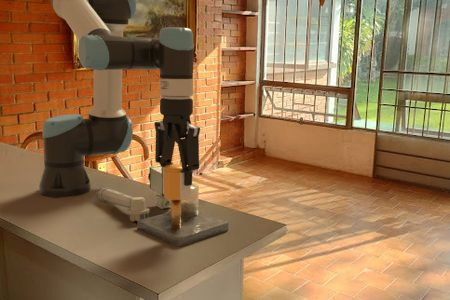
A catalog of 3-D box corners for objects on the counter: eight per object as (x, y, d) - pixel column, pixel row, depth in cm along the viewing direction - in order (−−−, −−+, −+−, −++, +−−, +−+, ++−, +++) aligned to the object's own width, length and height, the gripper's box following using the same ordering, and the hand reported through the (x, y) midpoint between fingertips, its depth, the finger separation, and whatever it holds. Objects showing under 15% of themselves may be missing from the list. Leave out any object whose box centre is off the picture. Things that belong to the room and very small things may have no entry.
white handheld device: (110, 185, 147) (152, 194, 127) (112, 207, 147) (154, 219, 128) (93, 188, 144) (134, 197, 124) (95, 210, 144) (136, 223, 124)
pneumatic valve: (165, 214, 134) (165, 171, 131) (147, 202, 143) (147, 162, 141) (183, 211, 137) (183, 169, 134) (164, 200, 146) (165, 160, 144)
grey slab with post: (137, 228, 123) (137, 192, 121) (186, 214, 134) (186, 181, 132) (179, 246, 112) (179, 207, 110) (228, 229, 123) (229, 194, 121)
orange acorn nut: (159, 196, 116) (159, 166, 115) (177, 192, 120) (177, 163, 119) (174, 201, 112) (174, 170, 111) (193, 196, 116) (193, 167, 115)
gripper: (138, 95, 116) (140, 190, 120) (191, 101, 103) (191, 207, 107) (163, 94, 121) (164, 185, 125) (217, 99, 108) (215, 201, 113)
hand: (176, 195), depth 116 cm, fingers closed on orange acorn nut, 6 cm apart
